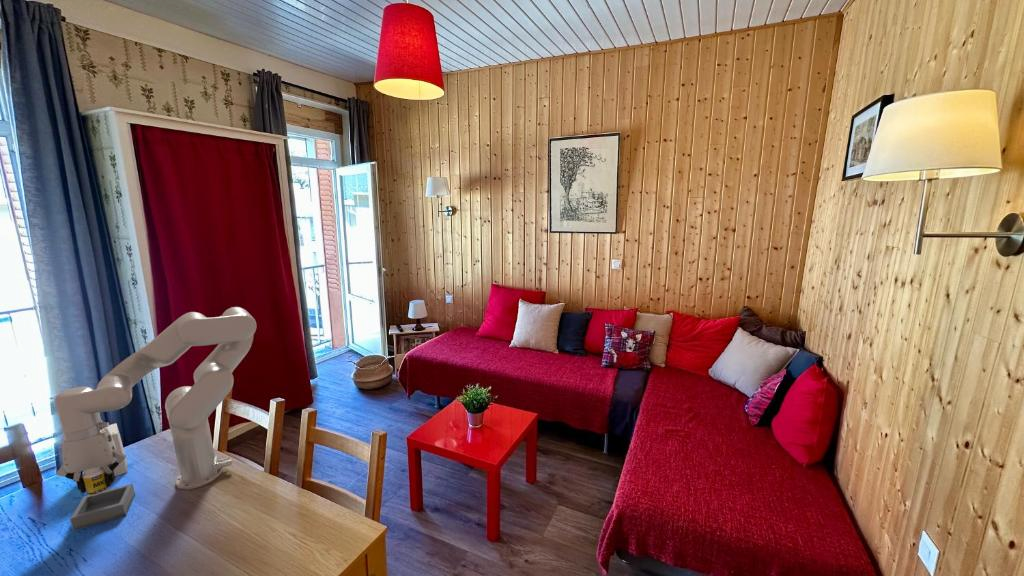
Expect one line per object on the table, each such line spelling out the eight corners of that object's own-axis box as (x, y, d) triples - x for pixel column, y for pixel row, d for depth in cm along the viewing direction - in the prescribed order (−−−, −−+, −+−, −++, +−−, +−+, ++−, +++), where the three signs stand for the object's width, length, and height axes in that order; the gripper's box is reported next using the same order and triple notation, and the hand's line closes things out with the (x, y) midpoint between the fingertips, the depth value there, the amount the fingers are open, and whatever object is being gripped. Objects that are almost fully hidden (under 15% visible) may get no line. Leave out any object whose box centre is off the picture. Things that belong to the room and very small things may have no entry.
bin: (135, 494, 129) (132, 483, 128) (125, 515, 120) (122, 504, 119) (87, 507, 123) (84, 496, 123) (73, 531, 115) (70, 519, 114)
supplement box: (127, 460, 145) (117, 422, 142) (128, 472, 139) (117, 433, 135) (91, 472, 139) (80, 432, 136) (90, 485, 133) (78, 444, 129)
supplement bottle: (95, 497, 117) (88, 471, 115) (82, 495, 118) (75, 469, 116) (114, 486, 122) (108, 461, 120) (102, 483, 123) (95, 459, 121)
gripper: (127, 416, 123) (139, 470, 127) (47, 432, 115) (62, 489, 119) (119, 429, 116) (132, 485, 121) (33, 446, 108) (50, 506, 112)
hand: (97, 486), depth 120 cm, fingers closed on supplement bottle, 4 cm apart
